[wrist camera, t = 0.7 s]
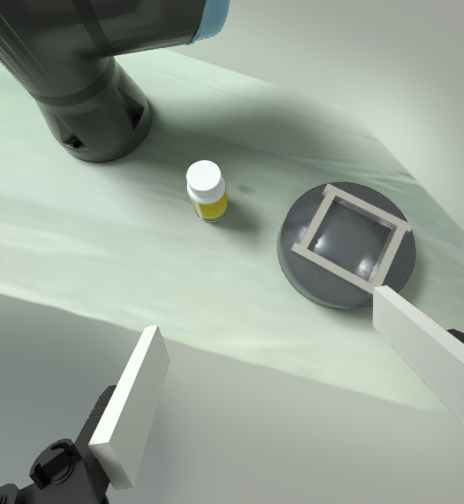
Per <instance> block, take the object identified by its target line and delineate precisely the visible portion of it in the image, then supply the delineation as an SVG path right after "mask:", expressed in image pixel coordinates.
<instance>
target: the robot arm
mask: <svg viewBox="0 0 464 504" xmlns="http://www.w3.org/2000/svg"><path fill="white" fill-rule="evenodd" d="M229 4H230V0H0V62H1V63H2V65H3V66H4V67H5V68H6V69H7V70H8V71H9V72H10V73H11V74H12V75H13V76H14V77H15V78H16V79H17V81H18V82H19V83H20V84H21V85H22V86H23V87H24V88H25V89H26V90H27V91H28V92H29V93H30V94H31V96H32V97H33V98H34V99H35V100H36V102H37V104H38V106H39V108H40V110H41V112H42V114H43V116H44V119H45V121H46V123H47V125H48V127H49V129H50V131H51V133H52V134H53V136H54V137H55V139H56V140H57V141H58V142H59V143H60V144H61V145H62V146H63V147H64V148H65V149H66V150H67V151H68V152H69V153H70V154H72V155H73V156H75V157H77V158H79V159H82V160H86V161H91V162H104V161H110V160H114V159H117V158H119V157H122V156H124V155H126V154H128V153H129V152H131V151H132V150H133V149H135V148H136V147H137V146H138V145H139V144H140V143H141V142H142V140H143V139H144V138H145V136H146V134H147V132H148V130H149V127H150V122H151V113H150V109H149V106H148V104H147V101H146V99H145V96H144V94H143V93H142V91H141V89H140V88H139V87H138V86H137V84H136V83H135V82H134V81H133V80H132V79H131V77H130V76H129V75H128V74H127V73H126V72H125V70H124V69H123V68H122V67H121V66H120V65H119V64H118V62H117V61H116V60H115V59H114V56H116V55H122V54H128V53H134V52H141V51H147V50H153V49H159V48H165V47H171V46H177V45H184V44H186V45H190V44H193V43H195V42H196V41H199V40H203V39H207V38H210V37H213V36H215V35H217V34H218V33H219V32H220V31H221V29H222V27H223V26H224V23H225V21H226V18H227V14H228V9H229ZM373 327H374V328H375V329H376V330H377V331H378V332H379V333H380V334H381V335H382V337H383V338H384V339H385V340H386V341H387V342H388V343H389V344H390V345H391V346H392V348H393V349H394V350H395V351H396V352H397V353H398V354H399V355H400V356H401V358H402V359H403V360H404V361H405V362H406V363H407V364H408V365H409V366H410V367H411V369H412V370H413V371H414V372H415V373H416V374H417V375H418V376H419V377H420V379H421V380H422V381H423V382H424V383H425V384H426V385H427V386H428V387H429V389H430V390H431V391H432V392H433V393H434V394H435V395H436V396H437V397H438V398H439V400H440V401H441V402H442V403H443V404H444V405H445V406H446V407H447V408H448V410H449V411H450V412H451V413H452V414H453V415H454V416H455V417H456V418H457V419H458V421H459V422H460V423H461V424H462V425H463V426H464V333H462V332H459V331H457V330H455V329H450V330H445V329H443V328H442V327H441V326H439V325H438V324H437V323H436V322H434V321H433V320H432V319H430V318H429V317H428V316H426V315H425V314H424V313H422V312H421V311H420V310H418V309H417V308H416V307H414V306H413V305H412V304H411V303H409V302H408V301H407V300H405V299H404V298H403V297H401V296H400V295H399V294H397V293H396V292H395V291H393V290H392V289H391V288H389V287H388V286H387V285H385V286H379V287H374V288H373ZM169 361H170V358H169V355H168V353H167V350H166V347H165V344H164V342H163V338H162V336H161V333H160V330H159V327H158V325H155V326H149V327H145V329H144V331H143V333H142V336H141V338H140V340H139V342H138V344H137V346H136V348H135V350H134V352H133V354H132V356H131V358H130V360H129V363H128V364H127V366H126V368H125V371H124V372H123V374H122V377H121V379H120V381H119V383H118V385H113V386H109V387H108V388H107V389H106V390H105V391H104V392H103V393H102V395H101V396H100V397H99V399H98V401H97V403H96V405H95V406H94V409H93V410H92V412H91V414H90V416H89V418H88V419H87V421H86V423H85V425H84V427H83V428H82V430H81V432H80V434H79V436H78V438H77V440H76V441H75V443H73V442H72V441H71V439H62V440H58V441H57V442H55V443H53V444H51V445H50V446H49V447H47V448H46V449H45V450H44V451H43V452H42V453H41V454H40V455H39V456H38V458H37V459H36V460H35V462H34V464H33V465H32V467H31V470H30V475H29V476H30V477H31V479H32V480H33V481H34V483H33V484H31V485H29V486H27V487H25V488H23V489H21V490H19V489H18V488H17V486H16V485H15V484H6V485H4V486H1V487H0V504H109V501H108V498H107V496H106V494H105V493H106V491H107V488H108V485H109V483H111V485H112V486H113V488H114V490H121V489H128V488H133V487H134V485H135V481H136V478H137V474H138V471H139V467H140V463H141V460H142V456H143V453H144V449H145V446H146V442H147V439H148V435H149V431H150V428H151V424H152V421H153V418H154V414H155V411H156V407H157V403H158V400H159V396H160V393H161V389H162V386H163V382H164V379H165V375H166V372H167V368H168V365H169Z"/></svg>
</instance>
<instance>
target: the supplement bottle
mask: <svg viewBox="0 0 464 504" xmlns="http://www.w3.org/2000/svg"><path fill="white" fill-rule="evenodd" d="M186 178H187V182H188V183H187V191H188V194H189V197H190V199H191V202H192V204H193V207H194V209H195V212H196V214H197V216H198V217H199V218H200V219H202V220H204V221H206V222H216V221H218V220H220V219H221V218H223V217H224V215H225V214H226V211H227V195H226V185H225V181H224V179H223V177H222V175H221V171H220V169H219V167H218V166H217V165H216V164H215V163H213V162H211V161H207V160H202V161H198V162H195V163H194V164H193V165H191V166H190V168H189V169H188V171H187V175H186Z"/></svg>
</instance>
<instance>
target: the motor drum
mask: <svg viewBox="0 0 464 504" xmlns="http://www.w3.org/2000/svg"><path fill="white" fill-rule="evenodd" d="M412 226H413V225H412V224H410V223H408V222H407V220H406V218H405V217H404V215H403V214H402V212H401V211H400V210H399V209H398V208H397V207H396V205H395V204H394V203H392V202H391V201H390V200H389V199H388V198H386V197H385V196H384V195H382V194H381V193H379V192H377V191H375V190H373V189H371V188H369V187H366V186H363V185H359V184H355V183H349V182H333V183H328V184H324V185H320V186H317V187H315V188H313V189H311V190H309V191H308V192H306V193H305V194H303V195H302V196H301V197H300V198H299V199H298V200H297V201H296V202H295V203H294V204H293V206H292V207H291V209H290V210H289V212H288V214H287V216H286V218H285V220H284V222H283V224H282V226H281V229H280V232H279V235H278V241H277V252H278V259H279V263H280V266H281V268H282V271H283V273H284V274H285V276H286V278H287V279H288V281H289V282H290V284H291V285H292V286H293V287H294V288H295V289H296V290H297V291H298V292H299V293H301V294H302V295H303V296H304V297H306V298H307V299H309V300H311V301H313V302H315V303H317V304H320V305H323V306H326V307H331V308H339V309H345V308H359V307H368V306H373V288H374V287H379V286H385V285H387V286H388V287H389V288H391V289H392V290H393V291H395V292H396V293H398V292H399V291H400V290H401V289H402V288H403V287H404V285H405V284H406V282H407V281H408V279H409V277H410V275H411V273H412V270H413V267H414V263H415V253H416V249H415V241H414V237H413V233H412V230H411V229H412Z"/></svg>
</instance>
